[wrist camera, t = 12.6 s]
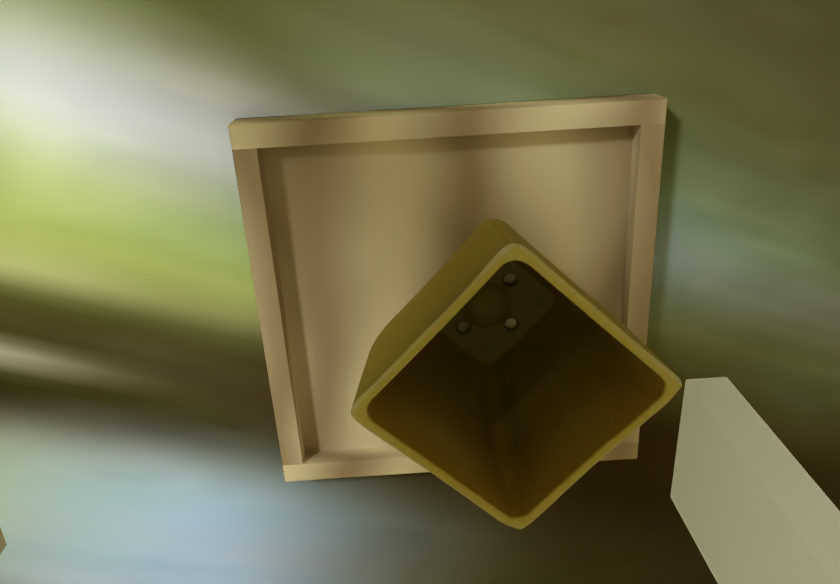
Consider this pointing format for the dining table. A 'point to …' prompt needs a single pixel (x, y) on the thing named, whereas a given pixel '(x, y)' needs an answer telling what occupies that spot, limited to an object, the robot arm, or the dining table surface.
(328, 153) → the holder tray
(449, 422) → the flower pot
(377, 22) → the dining table surface
